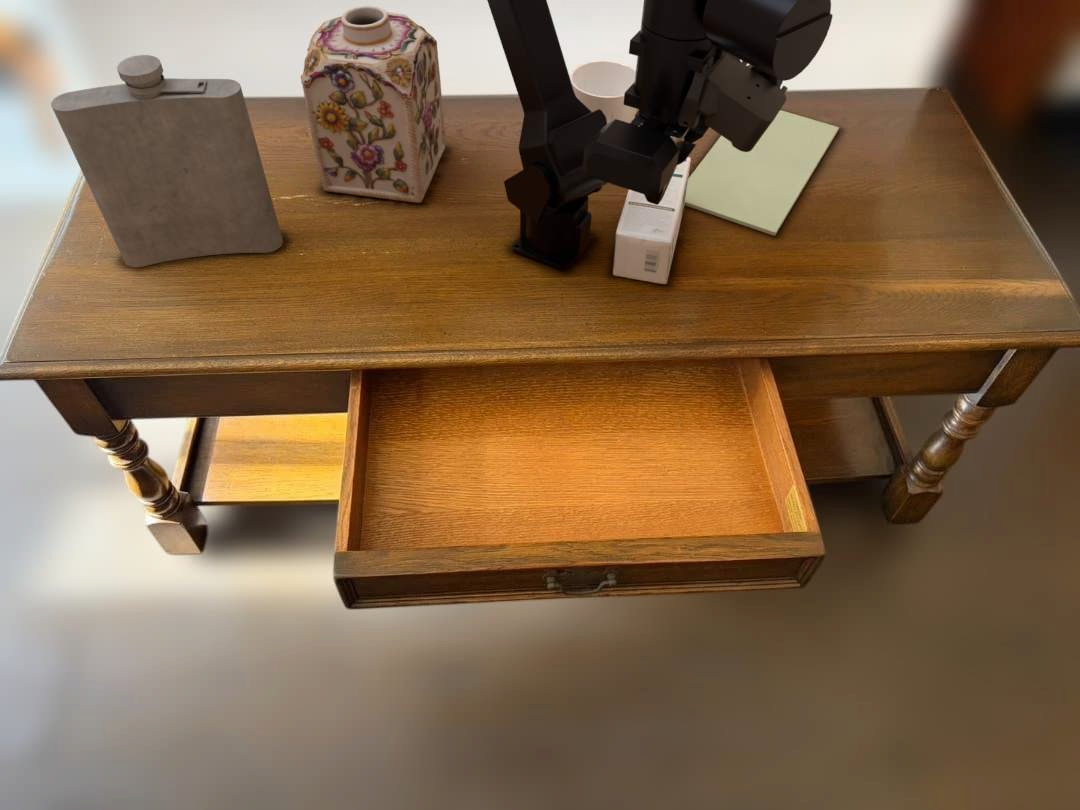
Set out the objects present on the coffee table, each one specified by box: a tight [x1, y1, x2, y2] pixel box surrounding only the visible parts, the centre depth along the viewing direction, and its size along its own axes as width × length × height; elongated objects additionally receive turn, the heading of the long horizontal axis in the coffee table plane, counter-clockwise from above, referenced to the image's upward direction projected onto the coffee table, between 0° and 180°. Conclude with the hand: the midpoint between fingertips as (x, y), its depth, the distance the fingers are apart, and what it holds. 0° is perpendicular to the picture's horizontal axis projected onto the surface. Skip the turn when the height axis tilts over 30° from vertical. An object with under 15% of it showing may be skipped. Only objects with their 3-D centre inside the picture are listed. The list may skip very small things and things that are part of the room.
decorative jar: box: [300, 5, 446, 204], centre depth 89 cm, size 12×12×18 cm
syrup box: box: [612, 156, 692, 285], centre depth 87 cm, size 6×6×14 cm
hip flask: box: [50, 54, 284, 268], centre depth 79 cm, size 16×4×20 cm, turn 102°
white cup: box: [569, 59, 638, 124], centre depth 95 cm, size 8×8×10 cm
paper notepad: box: [684, 109, 840, 237], centre depth 98 cm, size 12×24×1 cm, turn 151°
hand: (654, 201), depth 72 cm, fingers closed
